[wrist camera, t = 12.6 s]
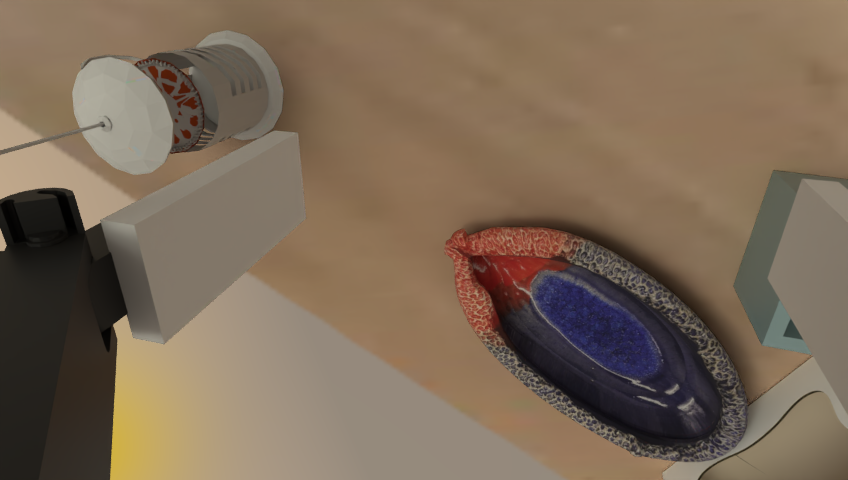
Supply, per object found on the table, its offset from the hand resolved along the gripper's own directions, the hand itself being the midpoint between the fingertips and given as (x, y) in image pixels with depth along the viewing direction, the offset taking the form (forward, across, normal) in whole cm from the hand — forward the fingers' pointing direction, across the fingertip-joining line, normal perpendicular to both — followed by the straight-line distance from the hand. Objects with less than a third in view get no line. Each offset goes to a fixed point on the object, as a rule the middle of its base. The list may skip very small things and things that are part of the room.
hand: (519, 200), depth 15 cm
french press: (+31, -30, -4) cm, 43 cm away
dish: (+30, +6, -23) cm, 39 cm away
